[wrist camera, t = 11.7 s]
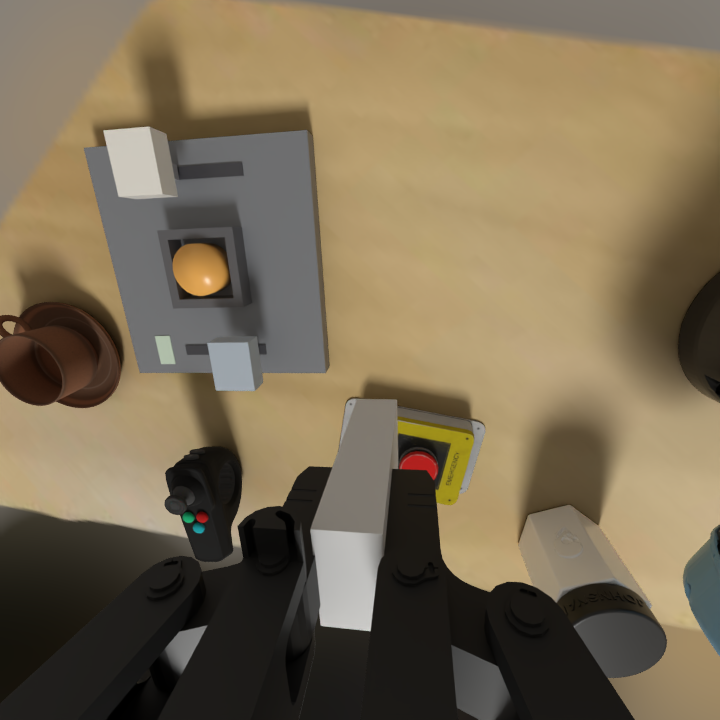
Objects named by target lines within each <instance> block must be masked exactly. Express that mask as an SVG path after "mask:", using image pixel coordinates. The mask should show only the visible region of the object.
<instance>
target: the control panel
mask: <svg viewBox="0 0 720 720" xmlns="http://www.w3.org/2000/svg"><path fill="white" fill-rule="evenodd" d="M168 145H169V151H170V156H171V161H172V163H173V164H176V165H177V170H178V175H179V180H175V183H176V189H177V194H178V197H165V198H148V199H131V198H124V197H119V196H118V192H117V188H116V183H115V179H114V175H113V170H112V166H111V162H110V157H109V153H108V149H107V146H102V147H89V148H84V151H85V155H86V159H87V163H88V167H89V171H90V175H91V179H92V183H93V187H94V191H95V195H96V199H97V203H98V207H99V211H100V215H101V219H102V223H103V227H104V231H105V235H106V239H107V243H108V247H109V251H110V255H111V259H112V263H113V267H114V271H115V275H116V279H117V283H118V287H119V291H120V295H121V299H122V303H123V307H124V311H125V315H126V319H127V323H128V327H129V331H130V335H131V339H132V343H133V347H134V351H135V355H136V359H137V363H138V367H139V371H140V373H213V372H212V366H211V361H210V355H209V350H208V344H207V343H208V342H210V341H211V340H213V339H215V338H217V337H230V336H257V340H258V347H259V355H260V362H261V370H262V373H326V372H327V370H328V368H329V352H328V338H327V325H326V311H325V297H324V283H323V269H322V255H321V242H320V228H319V214H318V200H317V186H316V173H315V159H314V145H313V136H312V135H311V134H310V133H309V132H308V130H301V131H289V132H276V133H264V134H251V135H239V136H226V137H214V138H201V139H189V140H176V141H168ZM194 243H212V244H216V245H218V246H220V247H221V248H222V249H224V250H225V251H226V252H227V257H228V264H229V270H230V277H231V283H230V284H229V285H228V286H227V287H226V288H225V289H223V290H221V291H218V292H215V293H212V294H209V295H205V296H197V295H193V294H191V293H189V292H187V291H185V290H184V289H183V288H182V287H181V286H180V285H179V283H178V282H177V280H176V278H175V276H174V273H173V259H174V256H175V254H176V252H177V251H178V250H179V249H180V248H181V247H182V246H184V245H187V244H194Z"/></svg>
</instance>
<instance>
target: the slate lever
mask: <svg viewBox="0 0 720 720" xmlns="http://www.w3.org/2000/svg"><path fill="white" fill-rule="evenodd" d="M207 344H208V350H209V355H210V361H211V366H212V372H213V377H214V383H215V388H216V391H255V390H256V389H257V388H258V387H259V386H260V385H261V384H262V383H263V377H262V370H261V362H260V355H259V347H258V340H257V336H230V337H217V338H215V339H213V340H211V341H210V342H208V343H207Z"/></svg>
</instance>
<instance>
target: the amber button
mask: <svg viewBox="0 0 720 720" xmlns="http://www.w3.org/2000/svg"><path fill="white" fill-rule="evenodd" d="M173 273H174V276H175V278H176V280H177V282H178V283H179V285H180V286H181V287H182V288H183V289H184V290H185V291H187V292H189V293H191V294H193V295H197V296H205V295H209V294H212V293H215V292H218V291H221V290H223V289H225V288H226V287H227V286H228V285H229V284H230V283H231V277H230V270H229V264H228V257H227V252H226V251H225V250H224V249H222V248H221V247H220V246H218V245H216V244H212V243H194V244H187V245H184V246H182V247H181V248H180V249H179V250H178V251H177V252H176V254H175V256H174V259H173Z"/></svg>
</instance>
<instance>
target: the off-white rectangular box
mask: <svg viewBox="0 0 720 720" xmlns="http://www.w3.org/2000/svg"><path fill="white" fill-rule="evenodd" d="M103 132H104V136H105V140H106V145H107V149H108V153H109V157H110V162H111V166H112V170H113V175H114V179H115V183H116V188H117V192H118V196H119V197H124V198H131V199H148V198H165V197H178V194H177V189H176V183H175V180H179V175H178V170H177V165H176V164H173V163H172V161H171V156H170V151H169V145H168V140H167V134H166V133H163V132H161V131H159V130H156V129H154V128H152V127H138V128H127V129H115V130H103Z"/></svg>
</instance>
